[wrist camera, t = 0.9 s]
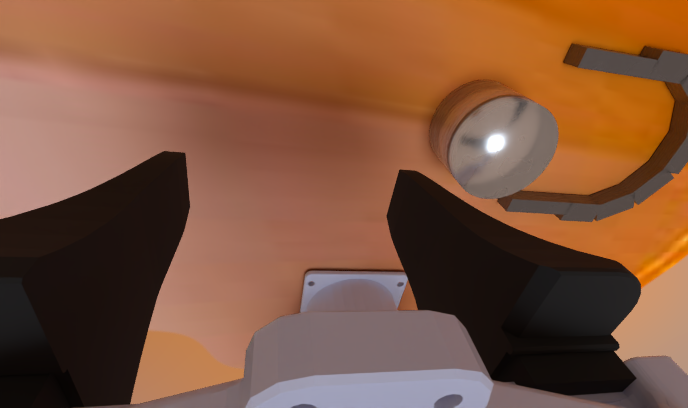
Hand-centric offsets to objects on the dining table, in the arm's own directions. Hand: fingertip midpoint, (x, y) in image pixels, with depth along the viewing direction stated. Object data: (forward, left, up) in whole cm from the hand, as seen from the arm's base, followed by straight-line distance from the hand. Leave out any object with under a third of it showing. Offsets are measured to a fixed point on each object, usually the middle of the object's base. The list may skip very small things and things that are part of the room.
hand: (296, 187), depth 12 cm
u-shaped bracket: (0, -21, -9) cm, 23 cm away
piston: (0, -11, -9) cm, 14 cm away
